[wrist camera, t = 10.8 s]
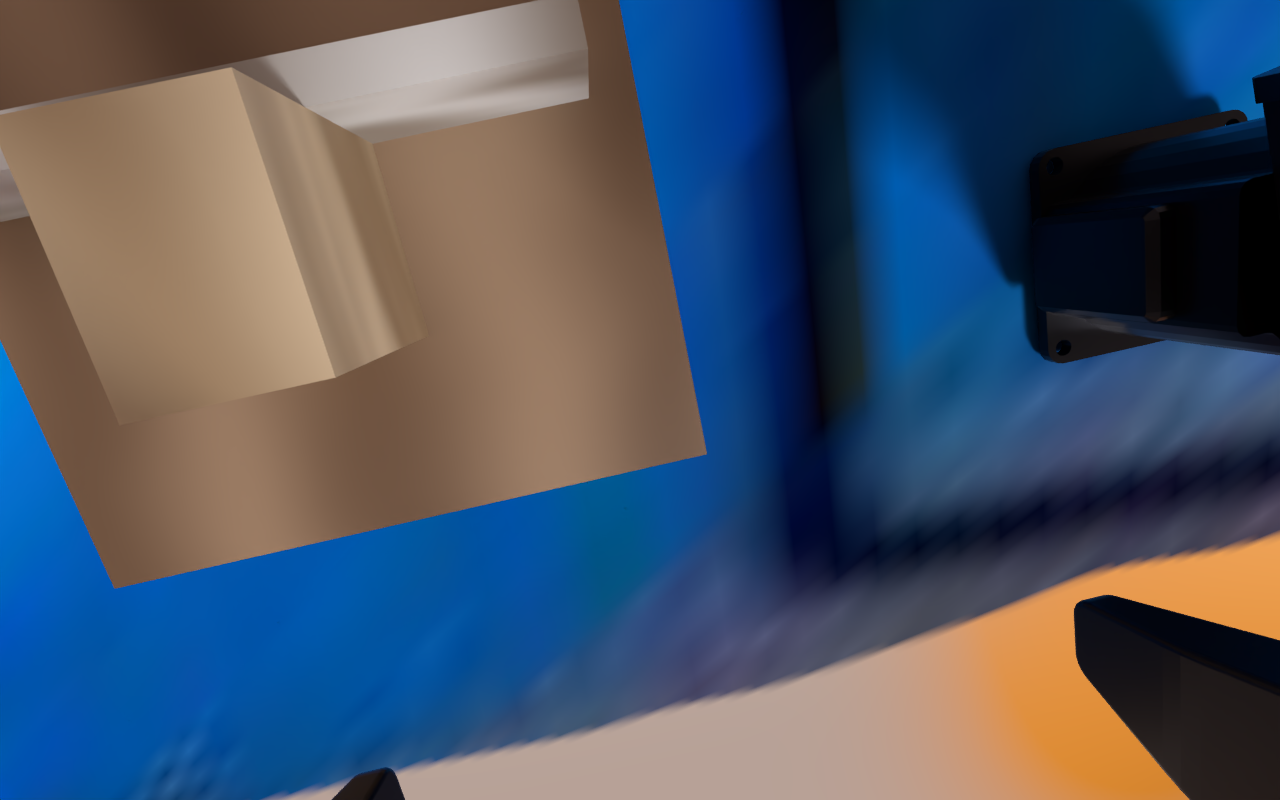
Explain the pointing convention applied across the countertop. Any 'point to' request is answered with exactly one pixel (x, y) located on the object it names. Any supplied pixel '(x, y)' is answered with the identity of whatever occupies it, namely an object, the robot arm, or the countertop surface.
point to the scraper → (261, 200)
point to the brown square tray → (446, 289)
